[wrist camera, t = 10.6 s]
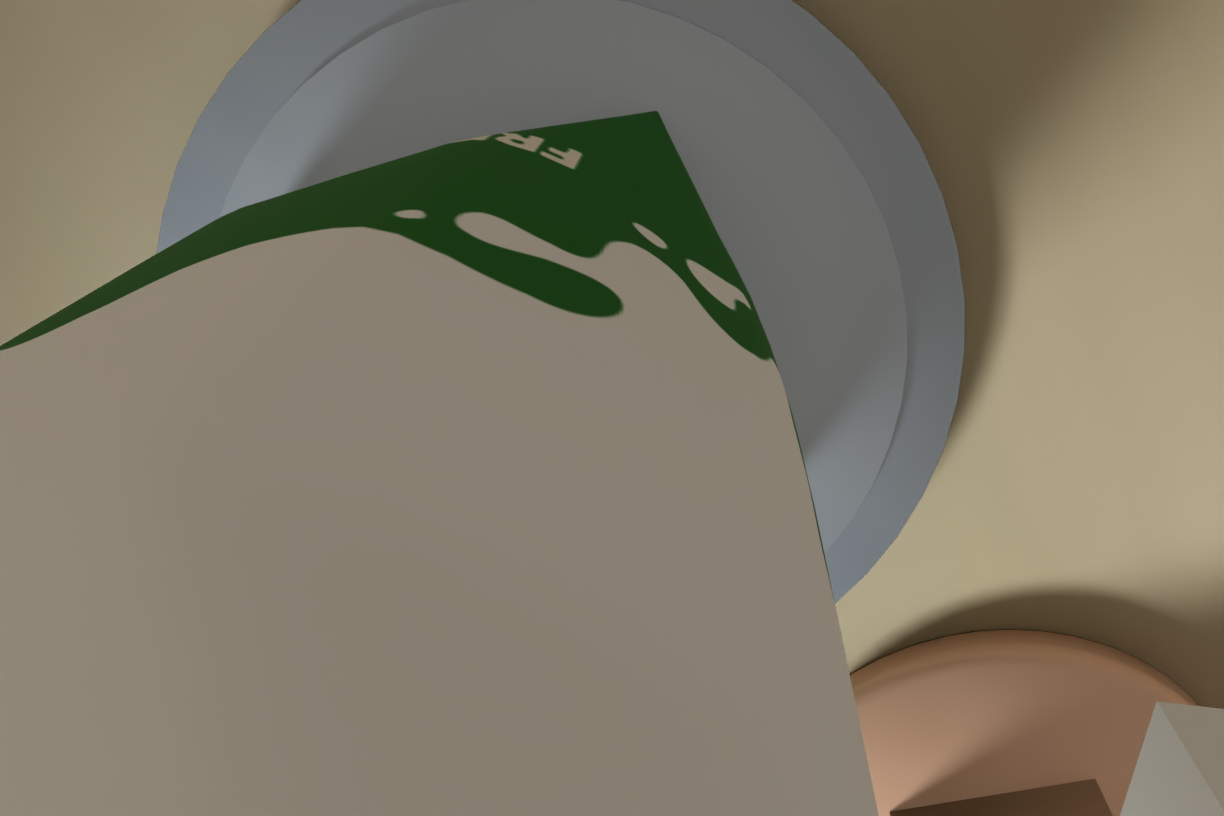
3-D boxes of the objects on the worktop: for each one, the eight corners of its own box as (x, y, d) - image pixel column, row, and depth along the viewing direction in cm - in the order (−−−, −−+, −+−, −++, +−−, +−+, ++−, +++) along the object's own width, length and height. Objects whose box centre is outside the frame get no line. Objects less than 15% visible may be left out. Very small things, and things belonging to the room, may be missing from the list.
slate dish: (198, 619, 24) (168, 661, 23) (161, -119, 19) (119, -123, 18) (875, 698, 24) (886, 745, 22) (1031, -33, 19) (1058, -31, 17)
